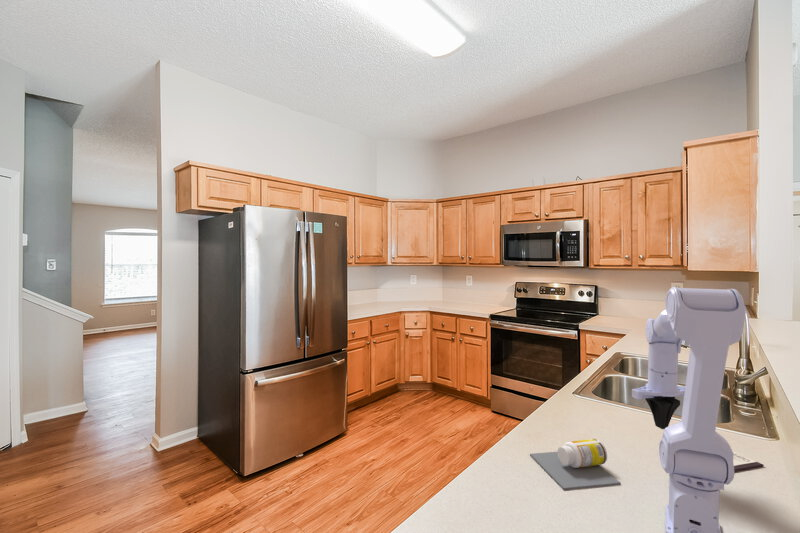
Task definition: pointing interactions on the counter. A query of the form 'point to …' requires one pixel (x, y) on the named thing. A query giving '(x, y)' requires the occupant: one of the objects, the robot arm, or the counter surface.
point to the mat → (573, 473)
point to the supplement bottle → (582, 453)
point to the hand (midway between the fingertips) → (661, 427)
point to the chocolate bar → (744, 463)
